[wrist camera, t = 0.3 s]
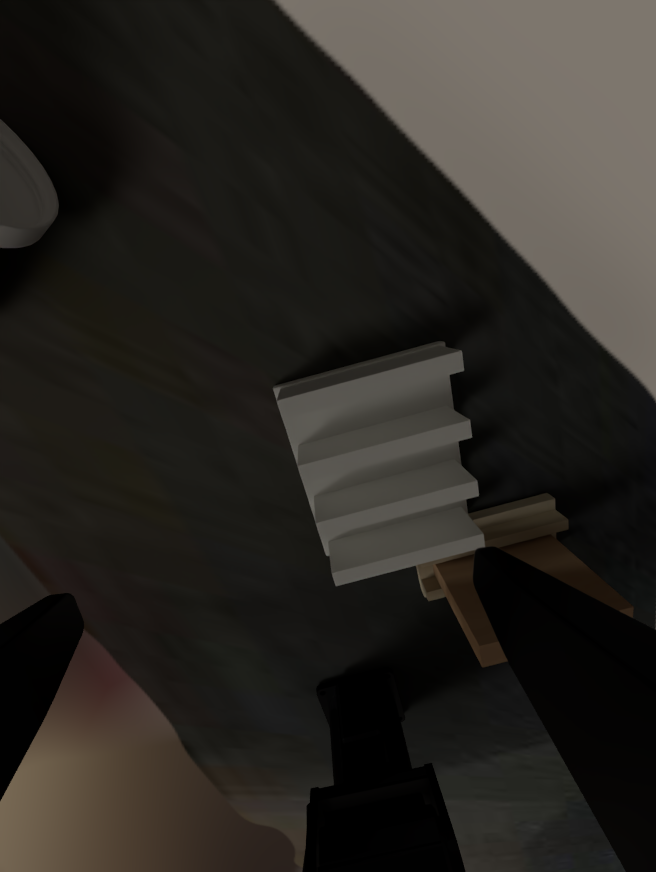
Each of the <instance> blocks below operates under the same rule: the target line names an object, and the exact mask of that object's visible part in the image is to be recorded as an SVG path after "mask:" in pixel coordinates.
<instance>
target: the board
mask: <svg viewBox="0 0 656 872" xmlns="http://www.w3.org/2000/svg"><path fill="white" fill-rule="evenodd" d="M499 549H501V550H503V551H505V552H507V553H508V554H510V555H512V556H514V557H516V558H518V559H520V560H522V561H524V562H526V563H528V564H530V565H532V566H534V567H535V568H537V569H539V570H541V571H543V572H545V573H547V574H549V575H551V576H553V577H555V578H557V579H559V580H560V581H562V582H564V583H566V584H568V585H570V586H572V587H574V588H576V589H578V590H580V591H582V592H584V593H586V594H587V595H589V596H591V597H593V598H595V599H597V600H599V601H601V602H603V603H605V604H607V605H609V606H611V607H612V608H614V609H616V610H618V611H620V612H622V613H624V614H626V615H628V616H630V617H632V618H633V606H632V605H631V604H630V603H629V602H627V601H626V600H625V599H624V598H623V597H622V596H621V595H619V594H618V593H617V592H616V591H615V590H614V589H613V588H611V587H610V586H609V585H608V584H607V583H606V582H605V581H603V580H602V579H601V578H600V577H599V576H598V575H597V574H596V573H594V572H593V571H592V570H591V569H590V568H589V567H588V566H586V565H585V564H584V563H583V562H582V561H581V560H580V559H578V558H577V557H576V556H575V555H574V554H573V553H572V552H570V551H569V550H568V549H567V548H566V547H565V546H564V545H562V544H561V543H560V542H559V541H558V540H557V539H556V538H554V537H553V536H552V535H551V534H549V535H545V536H541V537H537V538H534V539H530V540H526V541H522V542H518V543H514V544H511V545H507V546H503V547H499ZM432 566H433V571H434V574H435V576H436V578H437V580H438V582H439V584H440V586H441V588H442V590H443V592H444V594H445V596H446V598H447V600H448V602H449V604H450V605H451V607H452V609H453V611H454V613H455V615H456V617H457V619H458V621H459V623H460V625H461V627H462V629H463V631H464V633H465V635H466V637H467V639H468V641H469V642H470V644H471V646H472V648H473V650H474V652H475V654H476V656H477V658H478V660H479V662H480V664H481V666H482V668H483V667H487V666H491V665H495V664H499V663H502V662H506V661H508V660H507V658H506V656H505V654H504V652H503V650H502V648H501V646H500V644H499V641H498V639H497V637H496V635H495V632H494V630H493V628H492V626H491V623H490V621H489V619H488V617H487V614H486V612H485V610H484V608H483V605H482V603H481V601H480V599H479V596H478V594H477V592H476V589H475V587H474V583H473V566H474V554H472V555H468V556H465V557H461V558H457V559H453V560H449V561H445V562H442V563H438V564H434V565H432Z"/></svg>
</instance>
